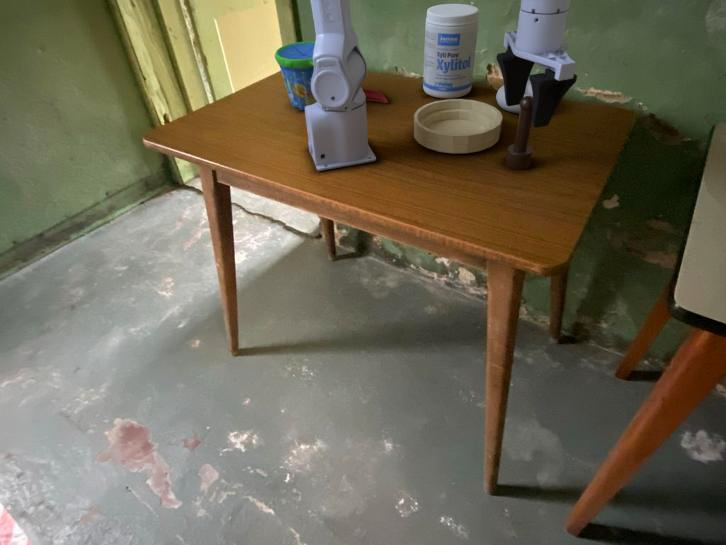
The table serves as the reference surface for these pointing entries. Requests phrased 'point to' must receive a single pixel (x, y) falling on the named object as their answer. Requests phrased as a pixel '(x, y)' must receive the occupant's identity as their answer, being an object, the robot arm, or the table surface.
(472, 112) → the bowl
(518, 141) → the pestle
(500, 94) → the donut
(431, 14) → the supplement tub
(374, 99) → the red curved leaf
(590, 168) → the table surface
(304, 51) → the snack cup
